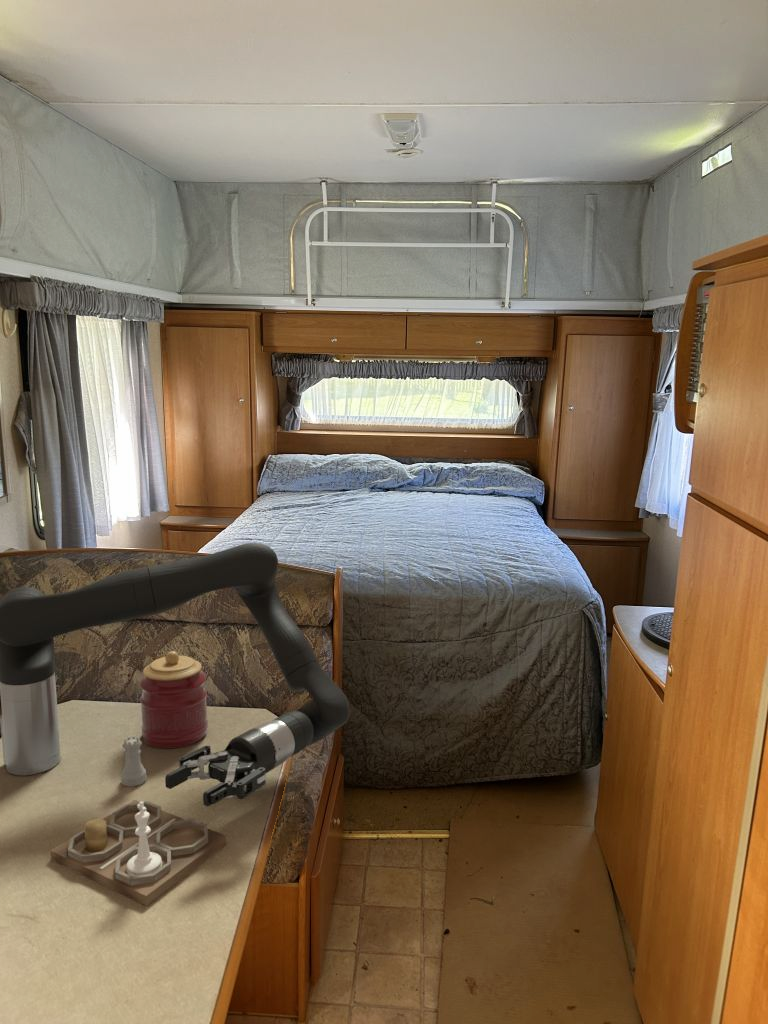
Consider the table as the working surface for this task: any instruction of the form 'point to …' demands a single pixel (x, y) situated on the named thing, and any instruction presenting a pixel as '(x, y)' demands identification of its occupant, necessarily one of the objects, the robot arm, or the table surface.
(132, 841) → the brown octagon slot tray
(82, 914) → the table surface
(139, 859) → the chess piece
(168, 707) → the canister
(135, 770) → the rook chess piece
